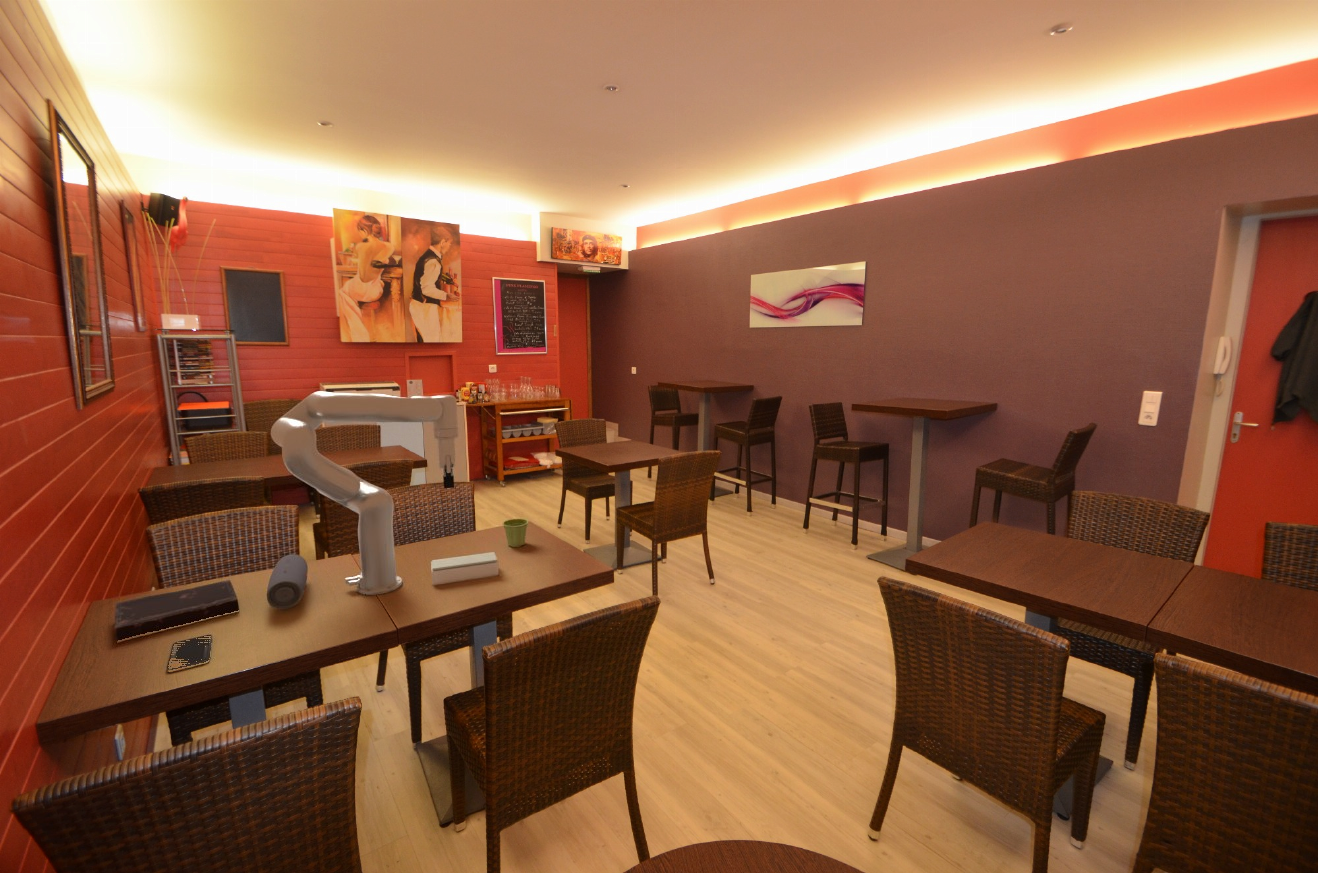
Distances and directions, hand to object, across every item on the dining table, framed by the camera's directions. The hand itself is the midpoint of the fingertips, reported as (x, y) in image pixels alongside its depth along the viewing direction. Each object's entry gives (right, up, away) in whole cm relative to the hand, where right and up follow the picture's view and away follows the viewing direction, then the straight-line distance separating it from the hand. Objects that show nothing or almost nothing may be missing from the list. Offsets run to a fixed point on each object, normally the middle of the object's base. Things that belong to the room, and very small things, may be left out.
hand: (449, 487), depth 189 cm
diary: (-63, -33, -32) cm, 78 cm away
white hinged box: (+7, -28, -4) cm, 29 cm away
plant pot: (+16, -24, +24) cm, 38 cm away
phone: (-44, -36, -51) cm, 76 cm away
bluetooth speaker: (-39, -31, -20) cm, 54 cm away
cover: (+7, -24, -5) cm, 25 cm away
